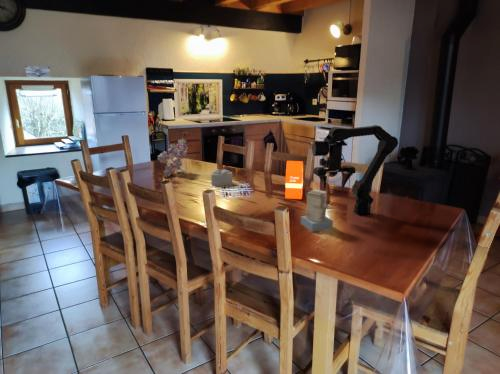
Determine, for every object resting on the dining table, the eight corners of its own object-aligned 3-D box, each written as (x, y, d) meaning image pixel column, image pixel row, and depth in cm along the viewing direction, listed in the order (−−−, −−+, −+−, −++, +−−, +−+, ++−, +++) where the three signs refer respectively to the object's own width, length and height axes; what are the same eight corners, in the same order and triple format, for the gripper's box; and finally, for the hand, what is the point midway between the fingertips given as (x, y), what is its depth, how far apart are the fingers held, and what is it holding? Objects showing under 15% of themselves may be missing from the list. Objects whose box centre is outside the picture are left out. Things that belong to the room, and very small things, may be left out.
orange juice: (301, 199, 198) (302, 162, 192) (285, 198, 199) (285, 162, 194) (302, 194, 205) (303, 159, 200) (286, 194, 207) (287, 159, 201)
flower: (155, 168, 263) (152, 140, 246) (185, 162, 271) (184, 134, 255) (162, 186, 250) (160, 157, 233) (194, 179, 258) (194, 151, 242)
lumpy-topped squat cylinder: (234, 184, 228) (234, 170, 226) (216, 187, 221) (216, 173, 218) (225, 180, 236) (225, 167, 234) (208, 184, 229) (207, 170, 226)
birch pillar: (313, 215, 164) (314, 189, 160) (325, 218, 160) (326, 191, 157) (306, 218, 159) (307, 192, 156) (318, 222, 155) (319, 195, 152)
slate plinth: (320, 221, 167) (320, 213, 166) (332, 229, 158) (332, 220, 157) (300, 224, 164) (301, 216, 162) (312, 232, 155) (312, 223, 153)
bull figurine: (314, 206, 186) (315, 191, 183) (303, 198, 198) (304, 184, 196) (322, 205, 187) (323, 190, 184) (311, 198, 199) (311, 183, 197)
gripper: (345, 151, 176) (343, 182, 180) (309, 153, 171) (307, 185, 176) (357, 155, 165) (354, 188, 170) (319, 157, 161) (317, 191, 165)
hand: (333, 188), depth 170 cm, fingers open, 9 cm apart
